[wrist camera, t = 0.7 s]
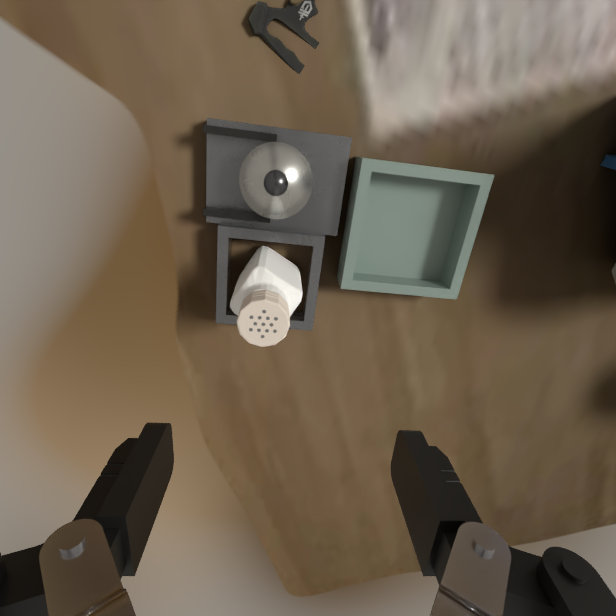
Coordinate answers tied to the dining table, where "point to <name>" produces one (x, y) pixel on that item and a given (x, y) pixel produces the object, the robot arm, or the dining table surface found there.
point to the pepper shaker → (266, 297)
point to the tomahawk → (292, 17)
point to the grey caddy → (273, 197)
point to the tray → (410, 228)
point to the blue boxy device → (612, 163)
